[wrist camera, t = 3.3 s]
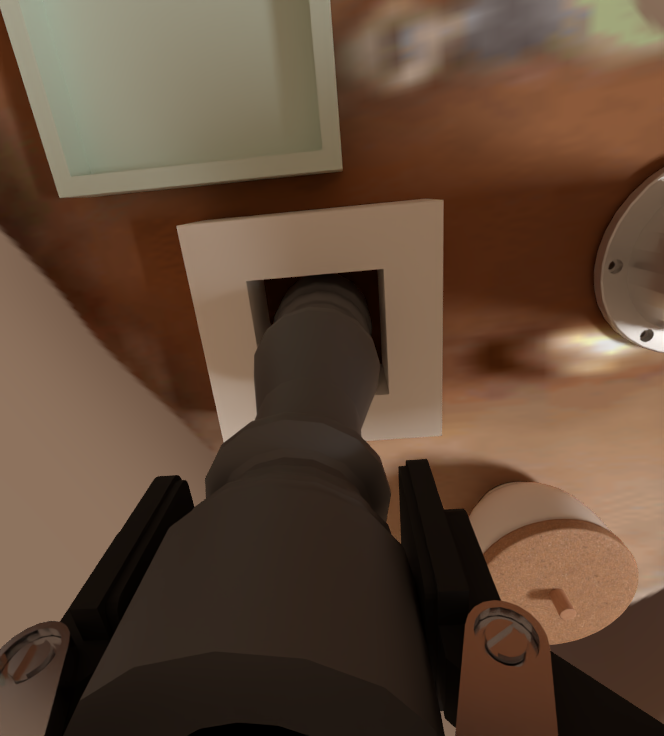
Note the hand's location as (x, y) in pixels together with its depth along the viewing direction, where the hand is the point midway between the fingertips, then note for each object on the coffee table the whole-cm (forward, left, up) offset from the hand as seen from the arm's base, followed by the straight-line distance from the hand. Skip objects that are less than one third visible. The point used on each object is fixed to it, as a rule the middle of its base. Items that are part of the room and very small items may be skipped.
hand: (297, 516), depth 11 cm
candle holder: (0, 0, -20) cm, 20 cm away
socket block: (0, 0, -19) cm, 19 cm away
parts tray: (+6, -16, -19) cm, 26 cm away
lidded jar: (-14, +18, -20) cm, 30 cm away
